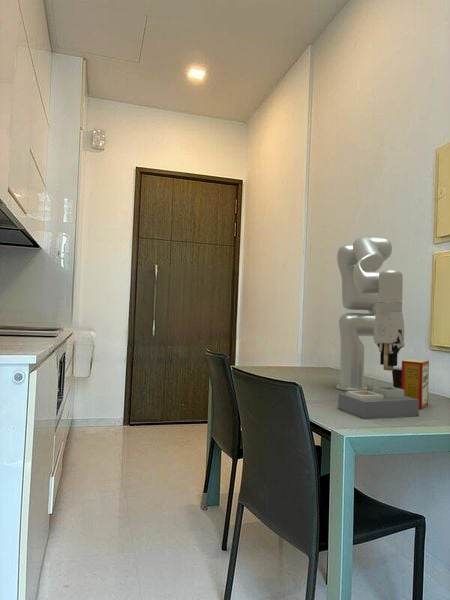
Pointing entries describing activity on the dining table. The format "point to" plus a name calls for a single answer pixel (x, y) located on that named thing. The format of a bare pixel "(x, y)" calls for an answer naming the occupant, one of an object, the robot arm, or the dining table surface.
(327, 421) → the dining table surface
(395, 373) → the coffee mug
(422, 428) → the dining table surface
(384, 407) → the grey compartment tray
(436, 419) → the dining table surface
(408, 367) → the baking soda box
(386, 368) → the wooden block
